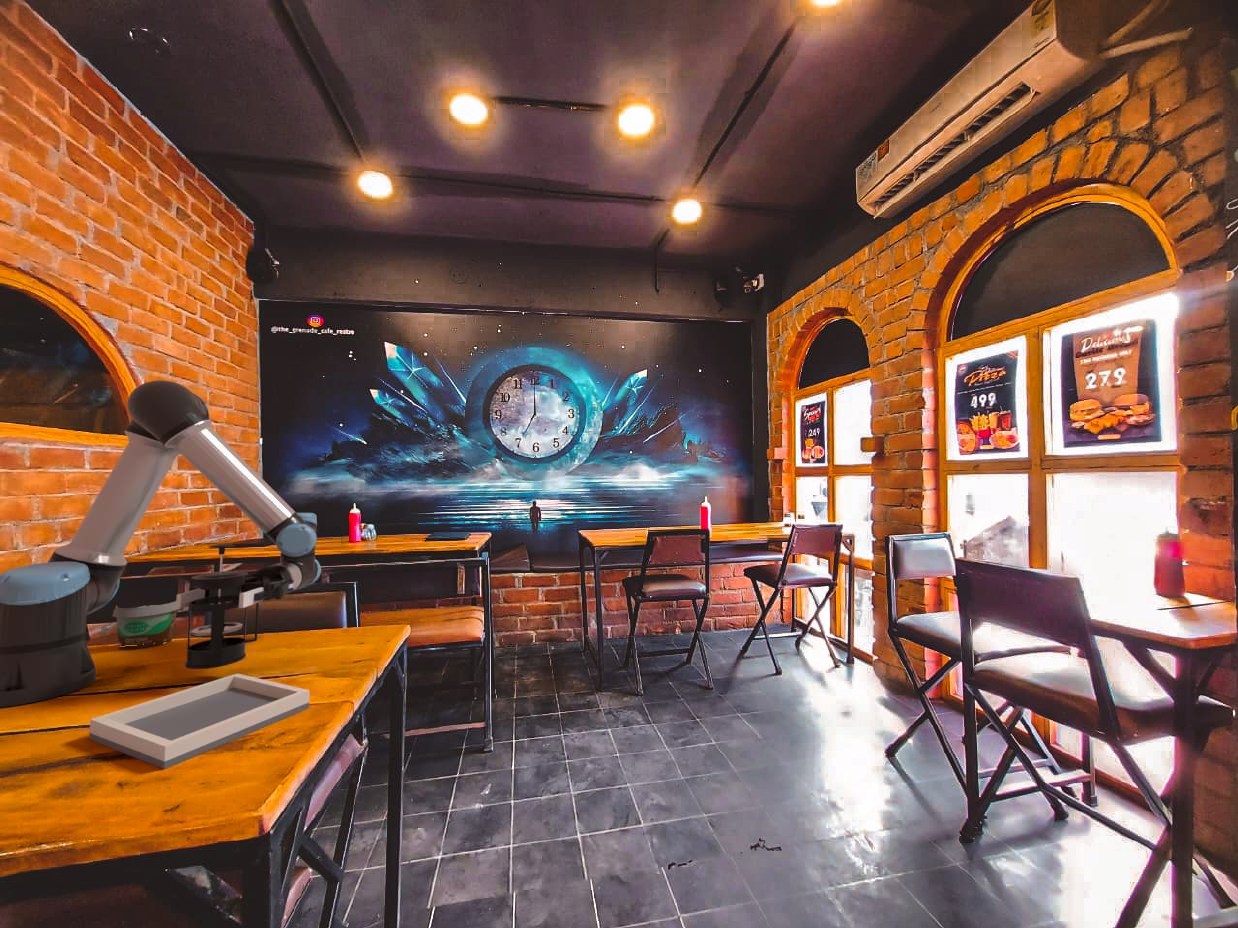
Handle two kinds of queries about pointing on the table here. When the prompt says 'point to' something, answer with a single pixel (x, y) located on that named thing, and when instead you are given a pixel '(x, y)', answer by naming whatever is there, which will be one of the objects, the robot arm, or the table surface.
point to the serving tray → (197, 718)
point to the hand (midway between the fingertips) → (210, 601)
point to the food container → (145, 625)
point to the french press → (218, 621)
